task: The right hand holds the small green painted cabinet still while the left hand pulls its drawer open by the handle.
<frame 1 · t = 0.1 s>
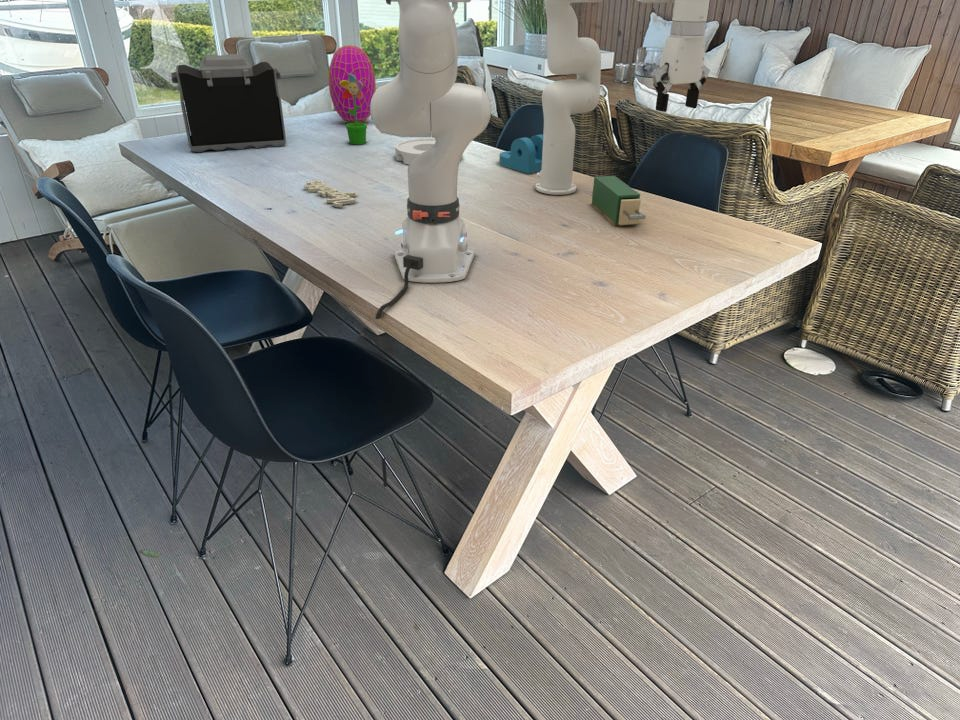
left hand: (430, 23, 166), 48 cm above the table, tool pointing down, fingers open, 8 cm apart
right hand: (676, 109, 164), 31 cm above the table, tool pointing down, fingers open, 9 cm apart
camera mount: (521, 166, 236), on the table
potted flower: (358, 143, 262), on the table
decorative egg: (355, 123, 293), on the table
decorative sign: (331, 194, 206), on the table
ashtray: (428, 158, 244), on the table
cabinet: (613, 214, 193), on the table
drawer: (621, 205, 186), point 4 cm above the table, slide at 0.7 cm
electronic device: (237, 143, 259), on the table
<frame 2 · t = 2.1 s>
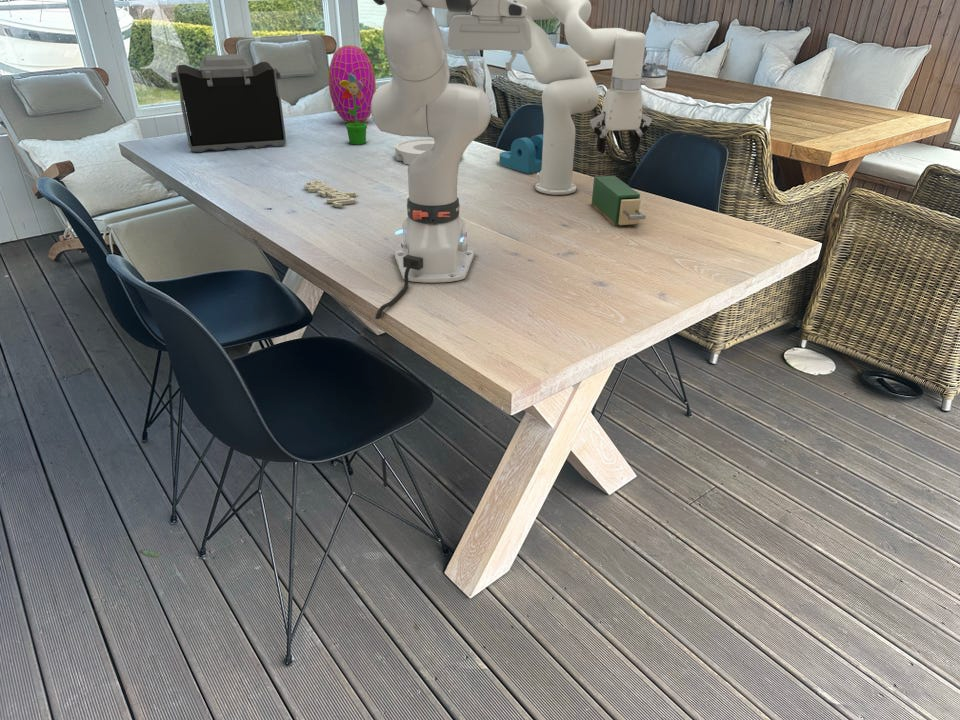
left hand: (489, 70, 169), 38 cm above the table, tool pointing down, fingers open, 8 cm apart
right hand: (617, 151, 187), 17 cm above the table, tool pointing down, fingers open, 9 cm apart
nothing on the table moved.
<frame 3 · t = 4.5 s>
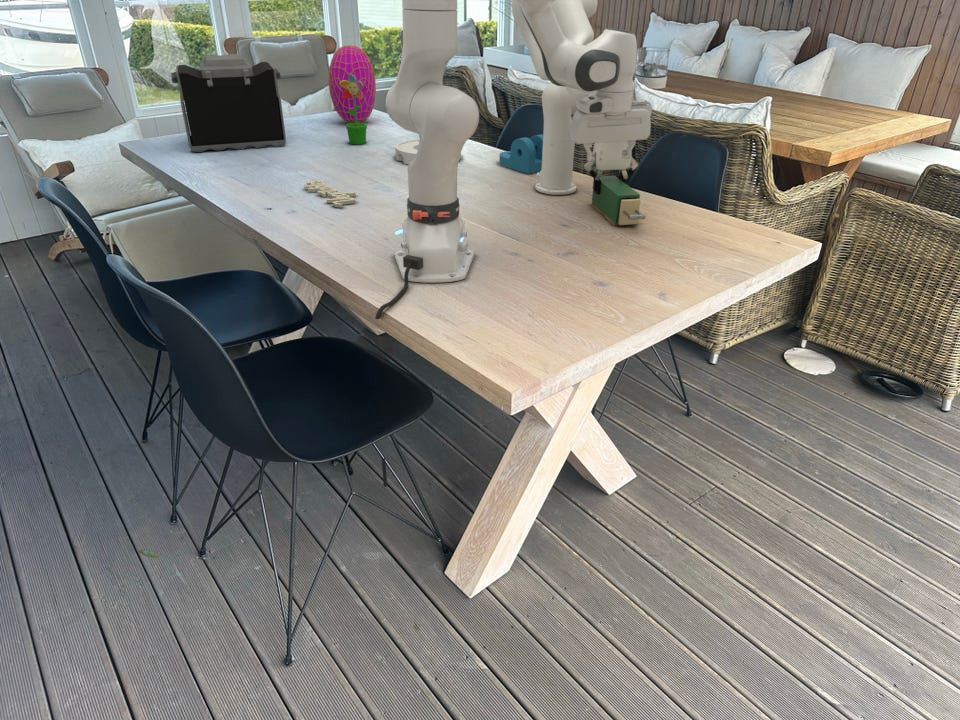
left hand: (608, 159, 174), 18 cm above the table, tool pointing down, fingers open, 8 cm apart
right hand: (608, 191, 194), 5 cm above the table, tool pointing down, fingers closed on cabinet, 6 cm apart
cabinet: (613, 214, 193), on the table, touching right hand
everything else where it was.
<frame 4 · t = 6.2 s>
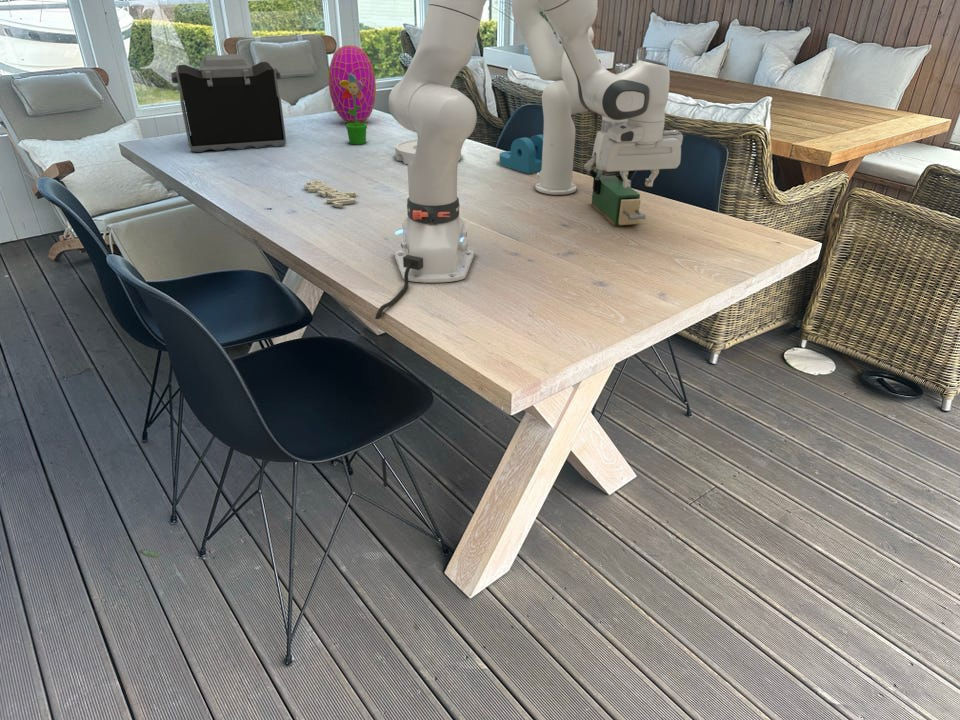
left hand: (637, 186, 175), 12 cm above the table, tool pointing down, fingers open, 5 cm apart
right hand: (608, 191, 194), 5 cm above the table, tool pointing down, fingers closed on cabinet, 6 cm apart
cabinet: (613, 214, 193), on the table, touching right hand
everything else where it was.
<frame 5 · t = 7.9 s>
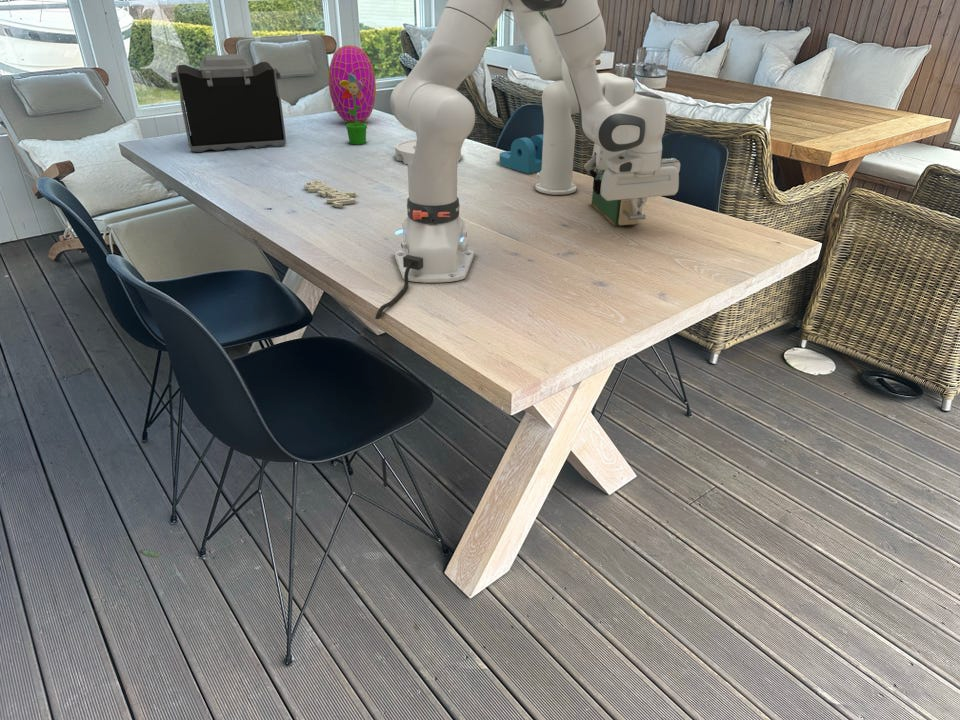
left hand: (637, 213, 179), 5 cm above the table, tool pointing down, fingers closed, pressing on drawer
right hand: (608, 191, 194), 5 cm above the table, tool pointing down, fingers closed on cabinet, 6 cm apart
cabinet: (613, 214, 193), on the table, touching right hand
drawer: (621, 205, 187), point 4 cm above the table, slide at 0.6 cm, touching left hand
everything else where it was.
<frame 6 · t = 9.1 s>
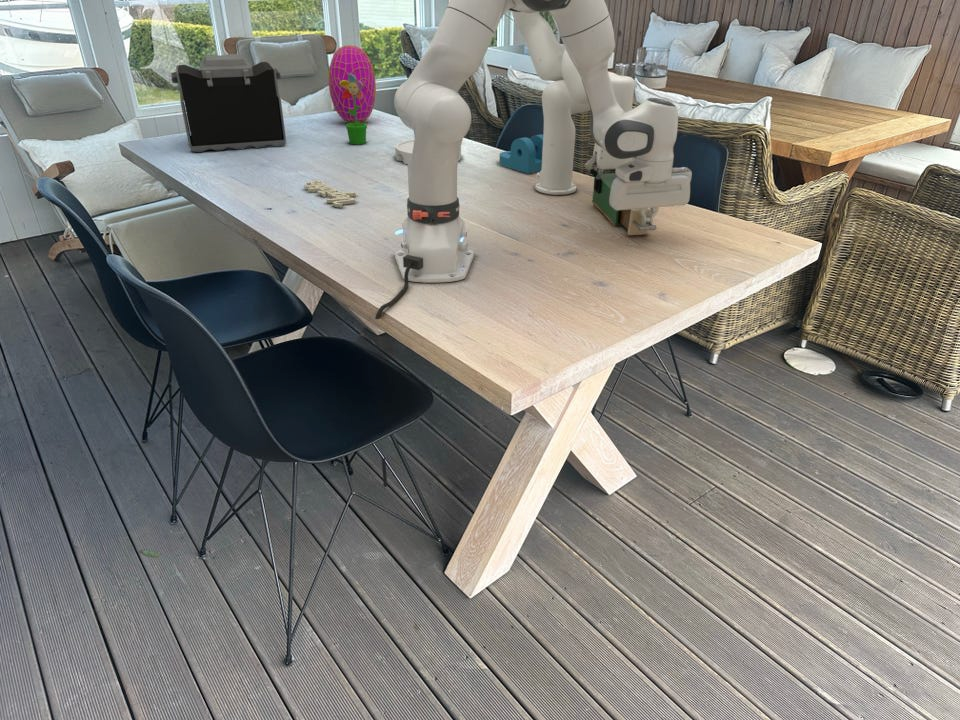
left hand: (646, 223, 174), 4 cm above the table, tool pointing down, fingers closed
right hand: (609, 190, 194), 5 cm above the table, tool pointing down, fingers closed on cabinet, 6 cm apart
cabinet: (613, 213, 192), on the table, touching right hand
drawer: (631, 213, 181), point 4 cm above the table, slide at 7.2 cm, touching left hand
everything else where it was.
when the right hand's fingers open (5 cm above the table, at t = 10.7 s): cabinet stays where it is, on the table.
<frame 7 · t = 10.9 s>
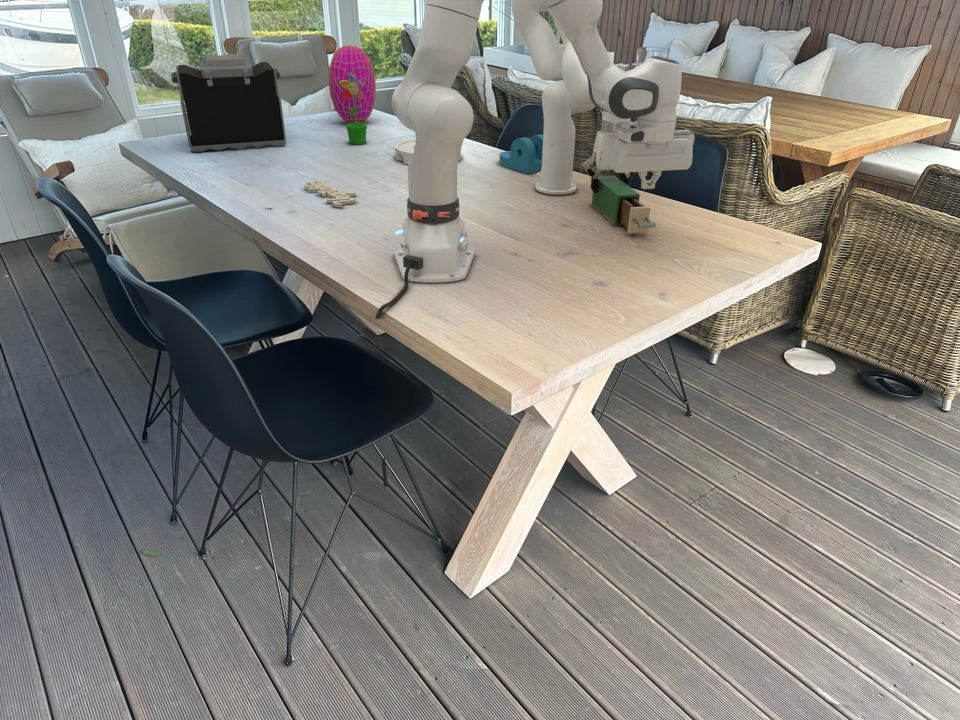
left hand: (647, 188, 170), 13 cm above the table, tool pointing down, fingers closed
right hand: (608, 190, 194), 5 cm above the table, tool pointing down, fingers open, 7 cm apart
cabinet: (613, 214, 193), on the table
drawer: (630, 213, 181), point 4 cm above the table, slide at 7.2 cm
everything else where it was.
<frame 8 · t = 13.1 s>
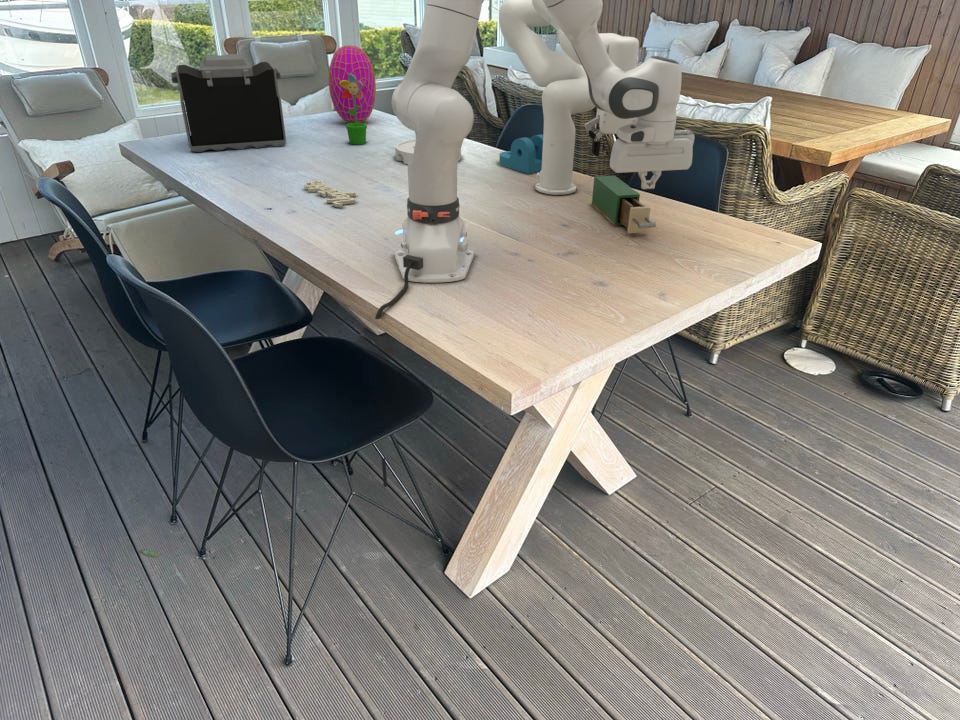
left hand: (647, 188, 170), 13 cm above the table, tool pointing down, fingers closed
right hand: (612, 154, 189), 15 cm above the table, tool pointing down, fingers open, 9 cm apart
nothing on the table moved.
at the end: drawer slide at 7.2 cm; cabinet tilted 0°; cabinet never tilted more than 3° during the clip; cabinet moved 0.1 cm from its start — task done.
